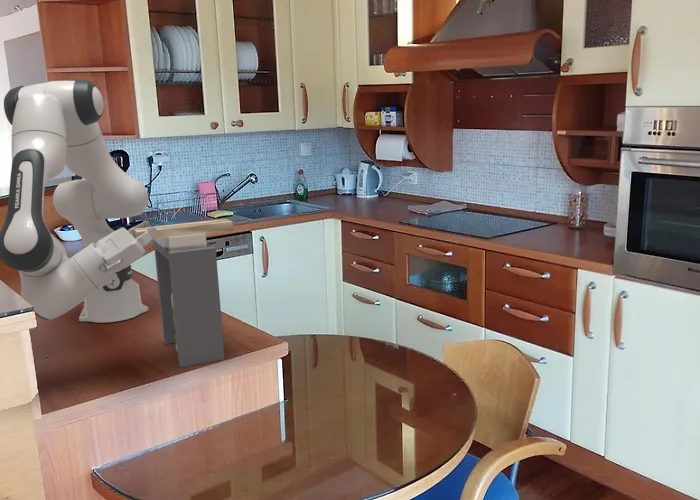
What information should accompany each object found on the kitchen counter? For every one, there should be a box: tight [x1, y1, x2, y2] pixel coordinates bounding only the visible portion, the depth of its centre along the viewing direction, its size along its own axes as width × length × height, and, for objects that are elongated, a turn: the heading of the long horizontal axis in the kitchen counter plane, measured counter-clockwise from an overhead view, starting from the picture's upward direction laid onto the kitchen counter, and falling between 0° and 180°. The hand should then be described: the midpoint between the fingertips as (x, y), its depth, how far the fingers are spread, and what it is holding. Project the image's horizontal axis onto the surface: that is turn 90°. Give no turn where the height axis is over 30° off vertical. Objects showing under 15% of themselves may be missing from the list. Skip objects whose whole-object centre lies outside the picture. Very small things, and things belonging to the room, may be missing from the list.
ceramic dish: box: [164, 233, 207, 252], centre depth 149 cm, size 6×8×3 cm
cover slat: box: [133, 218, 234, 241], centre depth 148 cm, size 5×21×2 cm, turn 116°
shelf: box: [153, 238, 226, 368], centre depth 156 cm, size 20×10×26 cm, turn 26°
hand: (152, 226), depth 145 cm, fingers open, 8 cm apart
